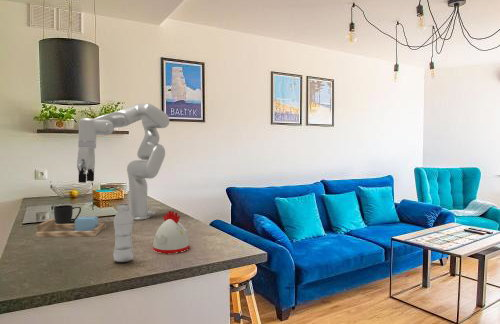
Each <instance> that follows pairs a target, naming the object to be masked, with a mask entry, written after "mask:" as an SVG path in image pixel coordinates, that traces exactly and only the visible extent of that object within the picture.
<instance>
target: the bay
mask: <svg viewBox="0 0 500 324" xmlns="http://www.w3.org/2000/svg"><path fill="white" fill-rule="evenodd" d="M106 228H107V223H106V222H100V223H99V222H98V226H97V227H95V228H94V229H93V230H92V231H75V223H70V224H56V221H55V217H54V218H53V217H52V218H49V219H47V220H45V221H42V222H41V223H39V224H37V231H36V232H35V237H36V238H61V237H63V238H64V237H66V238H69V237H72V238H73V237H76V238H77V237H96V236H97V235H99V234H100V233H102V231H104V230H105V229H106ZM59 229H60V231H54V230H59ZM61 229H62V230H65V231H62V230H61ZM68 229H69V230H68ZM72 229H74V230H72ZM66 230H67V231H66ZM71 230H72V231H71Z"/></svg>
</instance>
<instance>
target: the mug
mask: <svg viewBox="0 0 500 324" xmlns="http://www.w3.org/2000/svg"><path fill="white" fill-rule="evenodd" d="M74 209H79V210H78V213H77V215H76V216H75V218H74V219H73V212H74V211H73V210H74ZM81 212H82V208H81V206H75V207H73V205H68V204H67V205H66V204H65V205H56V206H54V207H53V215H54V218H55V224H75V220H76V219H77V218H79V217H80V214H81ZM72 219H73V220H72Z"/></svg>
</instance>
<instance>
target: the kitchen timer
mask: <svg viewBox="0 0 500 324" xmlns="http://www.w3.org/2000/svg"><path fill="white" fill-rule="evenodd" d="M180 218H181V216H180V215H178V211H177V212H176V211H172V210H169V211H168V212H166V213H165V215H163V220H164V221H163V222H162V223H161V225H160V226H159V227H158V229H157V230H156V233H155V235H154V240H153V242H152V243H153V244H152V249H153V250H155V251H157V252H161V253H176V252H181V251H184V250H187V249H188V248H189V249H190V240H189V237H188V230H187V229H186V228H185V227H184V226H183V224H182V223H181V222H179V220H180ZM189 249H188V250H189ZM188 250H187V251H188Z"/></svg>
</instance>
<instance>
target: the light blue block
mask: <svg viewBox="0 0 500 324" xmlns="http://www.w3.org/2000/svg"><path fill="white" fill-rule="evenodd" d="M98 223H99V216H78V217H77V219H76V220H75V222H74V224H75V229H74V231H92V230H93V229H94V228H95V227H97V226H98Z"/></svg>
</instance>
